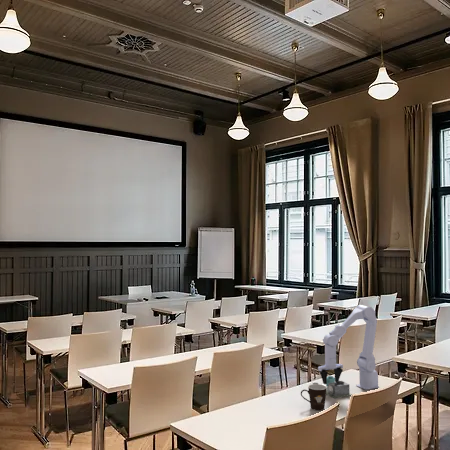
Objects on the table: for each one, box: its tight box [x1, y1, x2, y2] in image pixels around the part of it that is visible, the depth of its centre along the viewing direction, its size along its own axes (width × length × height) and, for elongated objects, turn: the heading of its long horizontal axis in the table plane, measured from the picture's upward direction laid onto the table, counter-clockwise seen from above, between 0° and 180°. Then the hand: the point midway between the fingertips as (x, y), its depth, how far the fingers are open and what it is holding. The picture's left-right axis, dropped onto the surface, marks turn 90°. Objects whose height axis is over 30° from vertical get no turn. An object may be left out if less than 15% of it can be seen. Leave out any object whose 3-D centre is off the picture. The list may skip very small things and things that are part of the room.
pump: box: [325, 375, 335, 386], centre depth 256 cm, size 4×4×7 cm
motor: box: [320, 380, 353, 399], centre depth 252 cm, size 11×15×6 cm
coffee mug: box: [300, 383, 327, 411], centre depth 230 cm, size 12×9×10 cm
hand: (330, 383), depth 256 cm, fingers open, 7 cm apart
